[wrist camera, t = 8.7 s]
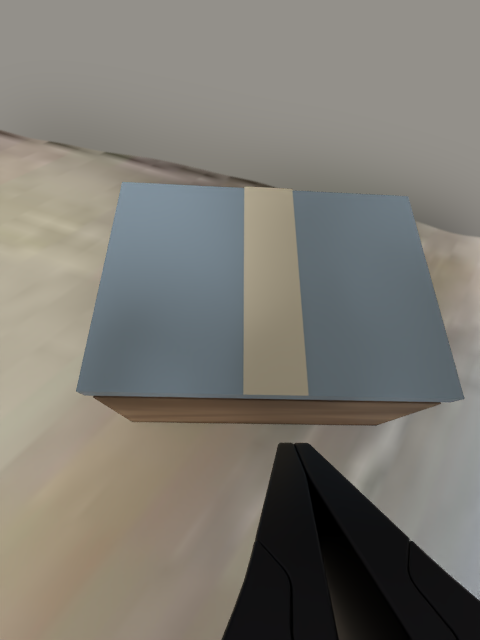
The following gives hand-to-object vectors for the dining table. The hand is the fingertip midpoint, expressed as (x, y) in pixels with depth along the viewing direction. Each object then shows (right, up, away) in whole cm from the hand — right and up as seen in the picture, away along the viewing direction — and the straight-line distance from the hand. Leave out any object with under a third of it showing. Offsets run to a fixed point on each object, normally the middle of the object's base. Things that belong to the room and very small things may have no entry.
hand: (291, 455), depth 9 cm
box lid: (0, +5, +6) cm, 8 cm away
